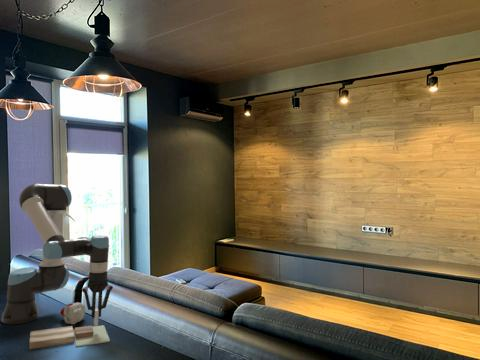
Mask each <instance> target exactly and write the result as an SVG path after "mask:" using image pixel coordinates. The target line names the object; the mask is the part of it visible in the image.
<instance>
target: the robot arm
mask: <svg viewBox="0 0 480 360" xmlns="http://www.w3.org/2000/svg"><path fill="white" fill-rule="evenodd" d="M18 203H19V206H20V208H21V210H22V211H23V213H26V214H27V215H28V217H29V219H30V221H31V222H32V225H33V226H34V227H35V229H36V231H37V233H38V234H39V236H40V238H41V240H42V241H43V242H42V261H41V262H40V263H39V264H38V269H37V267H35V266H28V267H21V268H17V269H15V270H12V272H10V273H9V274H8V278H7V279H8V280H7V297H6V300H7V301H6V306H5V308H4V309H3V310H4V311H3V312H2V315H1V322H2V323H3V324H5V325H21V324H26V323H30V322H34V321H35V320H36V319H38V318H39V315H40V314H39V313H40V311H39V308H38V306H37V305H38V304H37V301H36V297H37V296H36V295H38V294H42V293H48V292H51V291H54V292H55V291H58V290H60V289H63V288H64V287H66V285H67V284H68V283H69V282H68V281H69V279H70V271H69V268H68V266H66V265H65V262H64V261H63V260H62V259H63V258H70V257H71V258H72V257H78V256H89V272H88V273H89V275H88V282H87V285H85V286H83V287H82V288H81V291H82V292H83V294H84V298H85V302H86V307H87V310H88V311H91V315H90V316H91V318H92V319H93V327H94V326H99V318H101V316H102V309H106V308H107V304H108V301H109V298H110V294H111V291H112V290H113V288H114V287H113V285H112V284H109V281H108V267H109V266H108V265H109V264H108V263H109V249H110V244H109V243H110V241H109V240H110V239H109V236H107V235H101V234H100V235H92V236H91V238H89V237H86V236H85V237H83V236H80V237H78V238H73V239H65V238H64V235H63V223H64V222H63V221H64V213H66V211H67V208H68V207H70V206H71V203H72V192H71V190H70V188H69V187H68V186H66V185H65V184H57V183H56V184H53V183H52V184H51V183H32V184H29V185H28V186H26V187H25V188H24V189H23V190H22V191H21V193H20V195H19V201H18ZM105 289H106V292H105V294H104V298H103V292H104V291H105ZM89 290H90V291H91V295H92V296H91V303H90V299H89V293H88V292H89ZM97 294H98V298H97ZM96 301H97V303H96ZM96 304H97V308H96Z"/></svg>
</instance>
